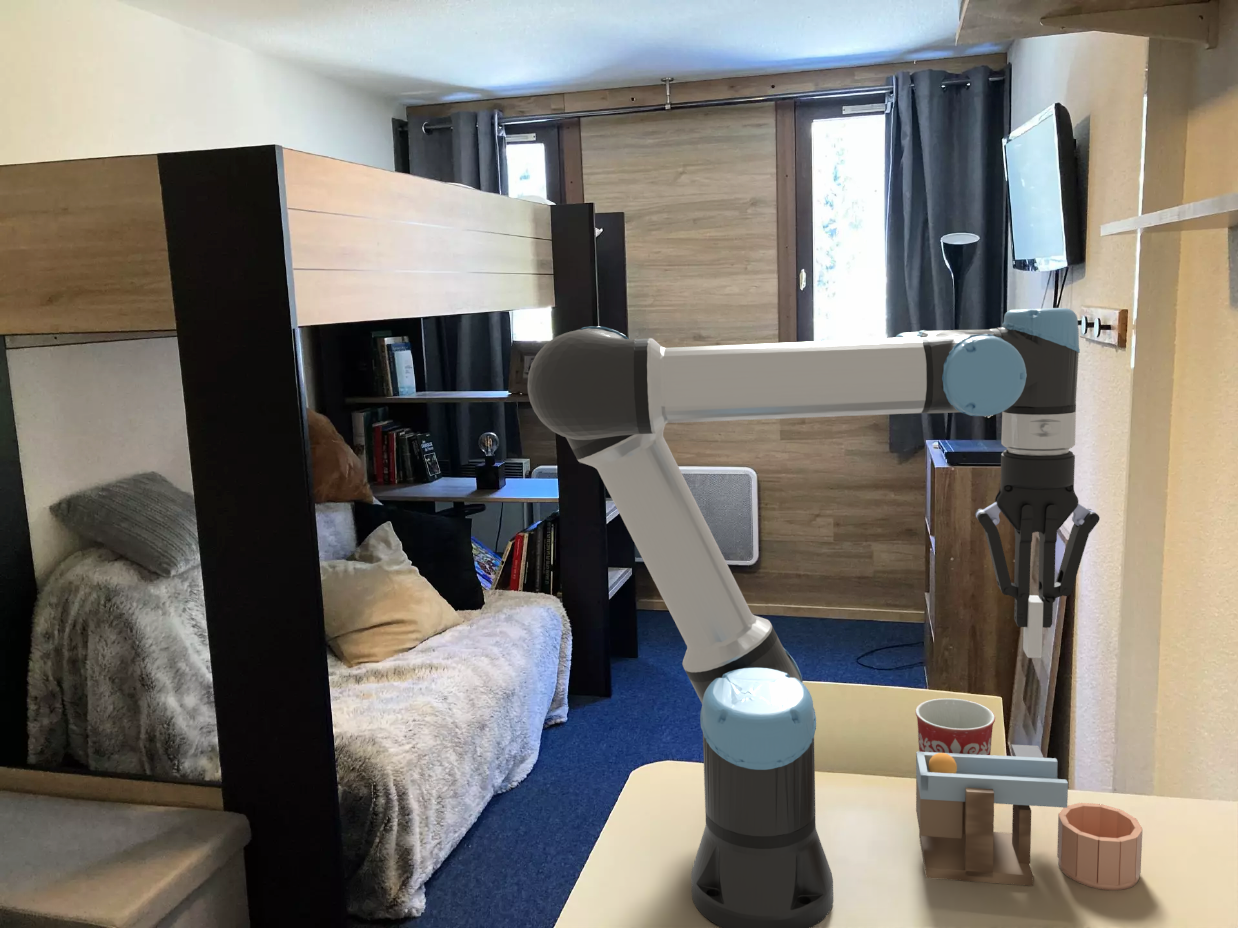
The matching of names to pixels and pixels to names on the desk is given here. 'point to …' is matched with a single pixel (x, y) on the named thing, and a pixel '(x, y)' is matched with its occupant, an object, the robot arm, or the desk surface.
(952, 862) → the stand
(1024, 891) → the desk surface
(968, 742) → the mug
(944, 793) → the chute
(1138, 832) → the cup
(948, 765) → the ball
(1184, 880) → the desk surface
